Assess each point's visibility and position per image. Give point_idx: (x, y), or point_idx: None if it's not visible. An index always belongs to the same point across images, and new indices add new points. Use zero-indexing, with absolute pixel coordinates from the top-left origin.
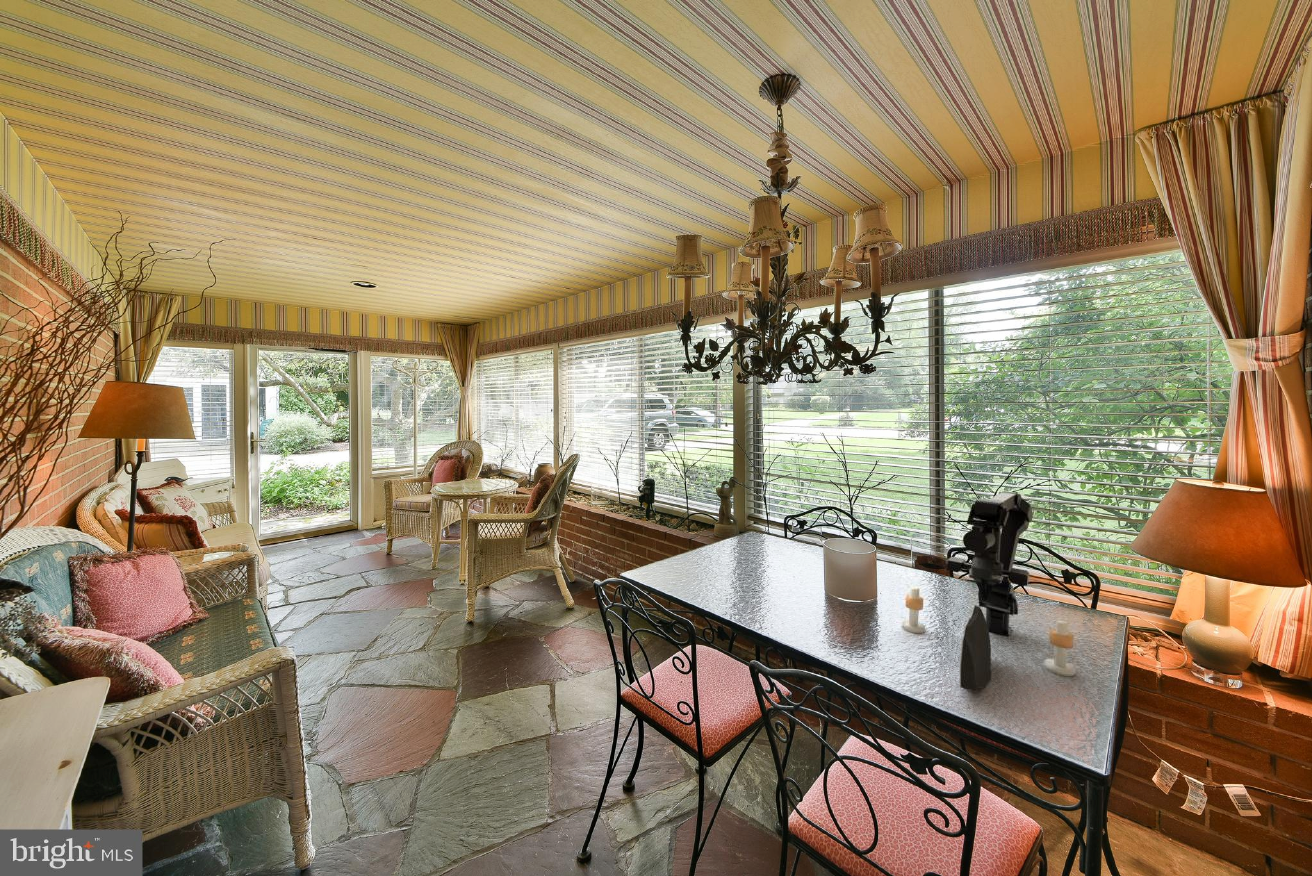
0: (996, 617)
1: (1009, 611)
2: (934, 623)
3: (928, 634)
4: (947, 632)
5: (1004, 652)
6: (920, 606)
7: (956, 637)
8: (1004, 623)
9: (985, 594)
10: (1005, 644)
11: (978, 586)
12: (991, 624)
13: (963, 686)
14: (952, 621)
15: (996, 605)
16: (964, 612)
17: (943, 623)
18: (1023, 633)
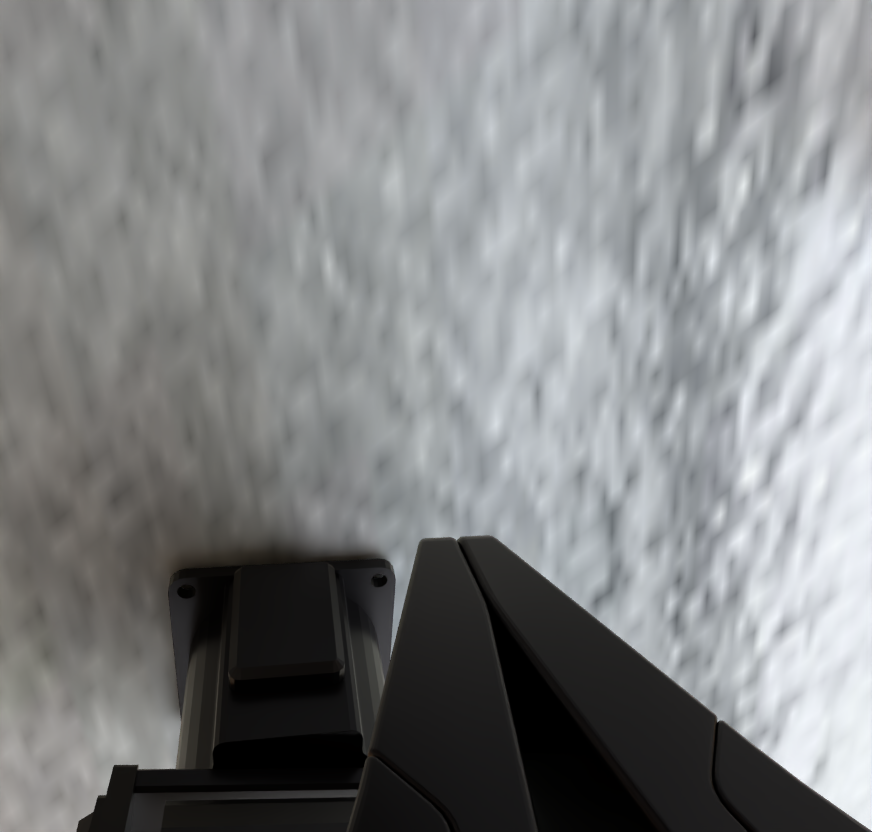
0: (281, 679)
1: (152, 813)
2: (773, 414)
3: (859, 89)
4: (674, 283)
5: (114, 144)
6: None
7: (595, 214)
8: (211, 675)
9: (479, 648)
10: (155, 374)
11: (794, 802)
12: (321, 603)
13: None
14: (625, 558)
15: (287, 801)
16: None
17: (698, 467)
18: (86, 709)
